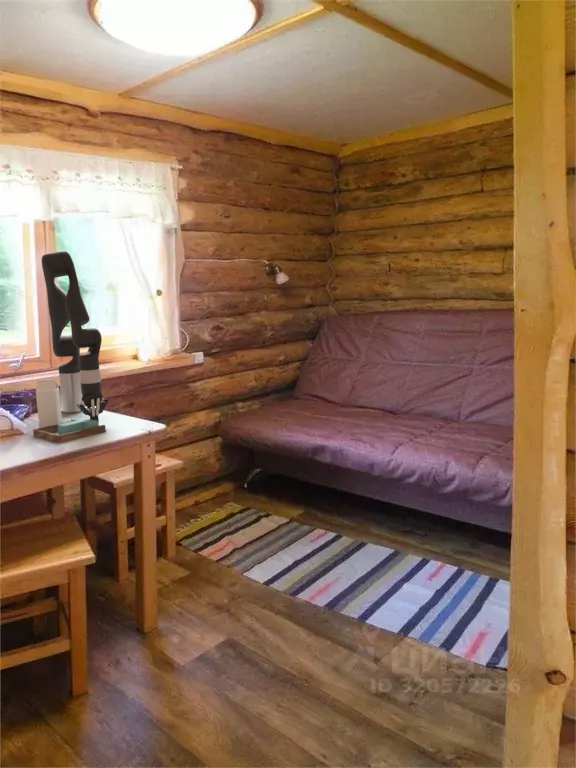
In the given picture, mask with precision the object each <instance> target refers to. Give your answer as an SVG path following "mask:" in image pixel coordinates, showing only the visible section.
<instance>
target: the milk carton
mask: <svg viewBox="0 0 576 768" xmlns="http://www.w3.org/2000/svg"><path fill="white" fill-rule="evenodd" d="M35 398H36V407H37V415H38V416H37V417H38V425H39V426H38V428H42V427H46V426H51V425H56V424H60V423H63V415H62V407H61V397H60V387H59V384H58V382H57V379H56V378H53V379H52V378H49V379H37V380H36V388H35Z"/></svg>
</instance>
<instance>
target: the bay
mask: <svg viewBox="0 0 576 768" xmlns="http://www.w3.org/2000/svg"><path fill="white" fill-rule="evenodd" d="M68 422H71V420H70V421H66V422H62V423H60V424H63V423H68ZM58 425H59V424H56V425H51V426H46V427H42V428H39V427H38V428H34V429H32V433H33V434H32V435H34V436H33V437H35V436H37V437H36V438H39V437H40V438H39V439H42V438H43V440H47V441H49V442H53V443H57V444H61V443H65V442H68V441H72V440H73V441H74V440H77V439H81V438H85V437H89V436H94V435H97V434H102V433H105V432H107V430H106V424H99V426H96V427H92V428H87V429H83V430H79V431H75V432H70V433H66V434H62V435H58V434H57V433H58Z"/></svg>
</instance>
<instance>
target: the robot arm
mask: <svg viewBox="0 0 576 768" xmlns="http://www.w3.org/2000/svg"><path fill="white" fill-rule="evenodd" d="M41 268H42V273H43V278H44V282H45V287H46V294H47V305H48V306H47V307H48V313H49V314H48V315H49V320H50V325H51V326H50V327H51V338H52V339H51V340H52V350H53V355H54V356H55V357H59V358H68V357H69V358H70V357H72V358H71V360H70V361H67V362H66V363H64V364H61V365H59V366H58V376H59V377H58V378H59V385H60V387H59V393H60V404H61V412H63V413H67V414H68V413H69V414H70V413H78V412H79V413H80V412H82V413H83V414H84V415H85V416H89V419H91V420H96V421H98V422H99V421H100V420H99V415H100V414H103V412H104V410H105V408H106V407H107V404H108V402H109V399H108V398H105V397H104V395H103V394H102V392H103V387H102V376H101V371H100V363H99V360H100V359H99V358H100V351H101V347H102V346H101V345H102V341H103V340H102V339H103V338H102V334H101V332H100V330H99V329H98V328H96V327H89V328H83V327H82V326H85V325H86V324H88V323H89V322H90V315H89V313H88V310H87V308H86V304H85V303H84V299H83V295H82V292H81V286H80V281H79V278H78V275H77V270H76V267H75V261H74V260H73V257H72V255H71V254H70V253H69V251H67V250H65V251H58V252H57V251H56V252H51V253H46V254H44V255H42V257H41ZM66 276H67V277H68V283H69V284H68V289H67V292H65V290H64V289H62V288H61V287H60V286H59V285H58V283H57V282H56V281H55V279H56V278H62V277H66ZM69 323H70V331H71V334H68V335H67V334H65V335H64V334H63V335H62V332H63V331H64V329H65V328H66V327H67V325H68V324H69ZM85 348H88V349H87V351H86V352H85V353H82V354H81V351H80V349H85Z"/></svg>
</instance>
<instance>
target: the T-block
mask: <svg viewBox="0 0 576 768" xmlns="http://www.w3.org/2000/svg"><path fill="white" fill-rule="evenodd" d="M70 421H71V422H69V421H67V422H68V423H65V422H62V423H63V424H59V425H58V431H57V433H58V434H57V435H62V434H66V433H70V432H75V431H79V430H83V429H87V428H92V427H96V426H100V424H99V422H98V421H96V420H91V419H90V418H86V417H81V416H80V417H75V418H70Z"/></svg>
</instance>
